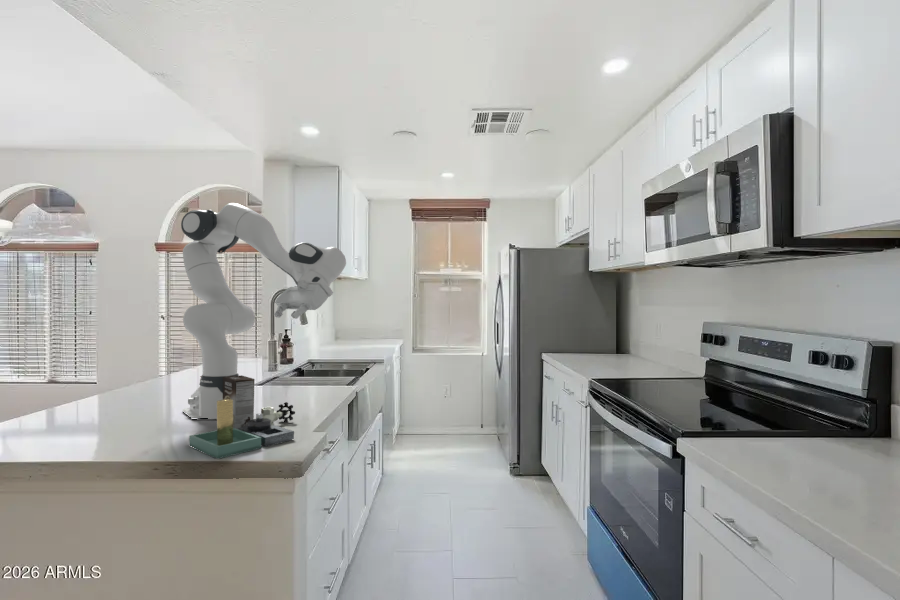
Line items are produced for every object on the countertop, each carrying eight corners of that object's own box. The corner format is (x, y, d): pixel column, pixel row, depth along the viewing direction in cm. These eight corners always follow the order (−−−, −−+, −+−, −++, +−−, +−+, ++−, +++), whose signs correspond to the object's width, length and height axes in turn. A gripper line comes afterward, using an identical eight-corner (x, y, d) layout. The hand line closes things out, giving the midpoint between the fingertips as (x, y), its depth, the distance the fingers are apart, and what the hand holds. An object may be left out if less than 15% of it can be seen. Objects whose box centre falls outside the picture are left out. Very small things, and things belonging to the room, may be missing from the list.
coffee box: (221, 428, 155) (221, 376, 155) (241, 424, 160) (242, 374, 160) (233, 433, 149) (234, 380, 149) (254, 429, 153) (255, 377, 153)
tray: (189, 446, 135) (189, 435, 135) (231, 437, 144) (232, 427, 144) (217, 458, 125) (217, 447, 125) (261, 448, 134) (261, 437, 134)
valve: (272, 431, 152) (295, 422, 163) (272, 410, 152) (295, 402, 163) (254, 429, 154) (278, 421, 165) (254, 408, 154) (278, 401, 165)
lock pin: (214, 444, 134) (214, 400, 134) (228, 441, 137) (228, 398, 137) (221, 447, 132) (221, 402, 132) (236, 444, 135) (235, 400, 135)
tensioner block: (237, 436, 145) (237, 414, 145) (265, 430, 152) (265, 409, 152) (265, 446, 136) (265, 423, 136) (293, 439, 143) (294, 417, 143)
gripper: (287, 279, 166) (260, 308, 158) (325, 278, 153) (297, 310, 145) (299, 293, 169) (272, 322, 161) (336, 293, 156) (310, 324, 148)
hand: (284, 316), depth 153 cm, fingers open, 8 cm apart
